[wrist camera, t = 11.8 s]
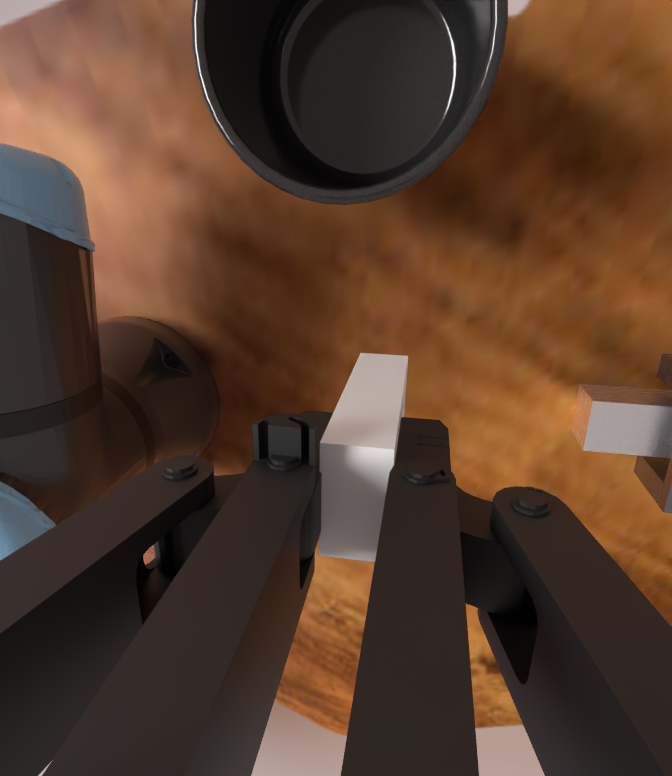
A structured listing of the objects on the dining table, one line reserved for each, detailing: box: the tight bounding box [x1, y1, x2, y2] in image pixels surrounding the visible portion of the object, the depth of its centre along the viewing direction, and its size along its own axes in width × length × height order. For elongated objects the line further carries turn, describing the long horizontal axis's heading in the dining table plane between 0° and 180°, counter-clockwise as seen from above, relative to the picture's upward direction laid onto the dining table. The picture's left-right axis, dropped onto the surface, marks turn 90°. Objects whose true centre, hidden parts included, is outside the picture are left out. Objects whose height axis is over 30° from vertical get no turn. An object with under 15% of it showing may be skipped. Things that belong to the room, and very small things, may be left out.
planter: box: [191, 0, 508, 205], centre depth 29 cm, size 13×13×18 cm
